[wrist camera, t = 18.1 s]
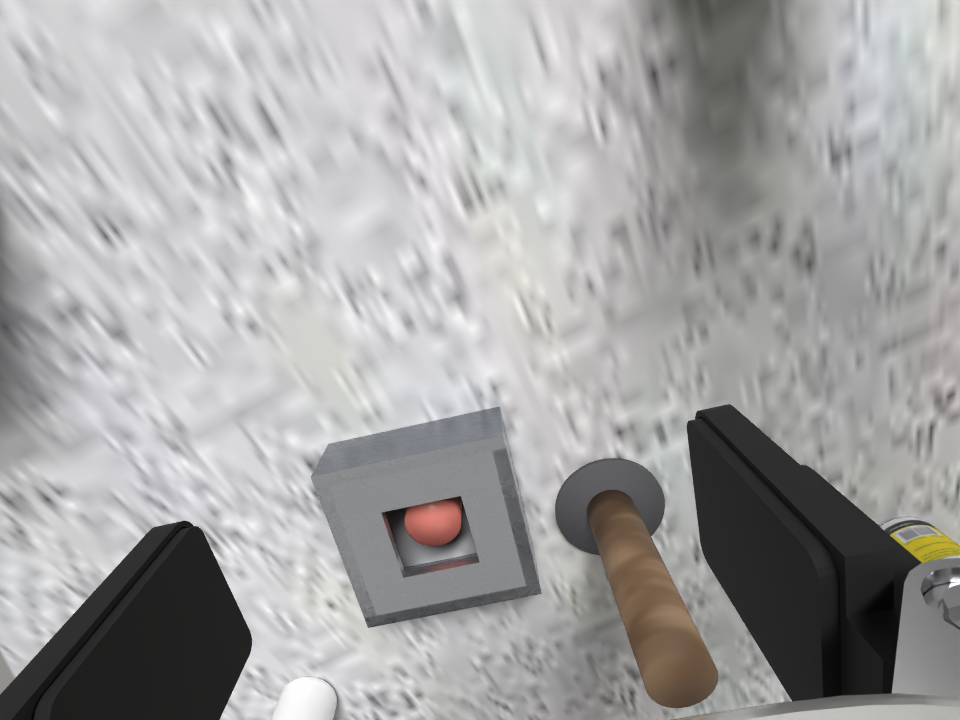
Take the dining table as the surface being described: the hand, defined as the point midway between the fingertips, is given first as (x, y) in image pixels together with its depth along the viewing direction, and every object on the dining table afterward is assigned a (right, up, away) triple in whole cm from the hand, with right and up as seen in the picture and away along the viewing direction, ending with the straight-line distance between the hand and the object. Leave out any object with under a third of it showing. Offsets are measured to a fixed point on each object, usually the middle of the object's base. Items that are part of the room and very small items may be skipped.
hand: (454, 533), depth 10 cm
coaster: (+11, -9, +35) cm, 38 cm away
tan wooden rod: (+11, -9, +35) cm, 38 cm away
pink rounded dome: (-3, -9, +34) cm, 35 cm away
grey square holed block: (-3, -8, +35) cm, 36 cm away
